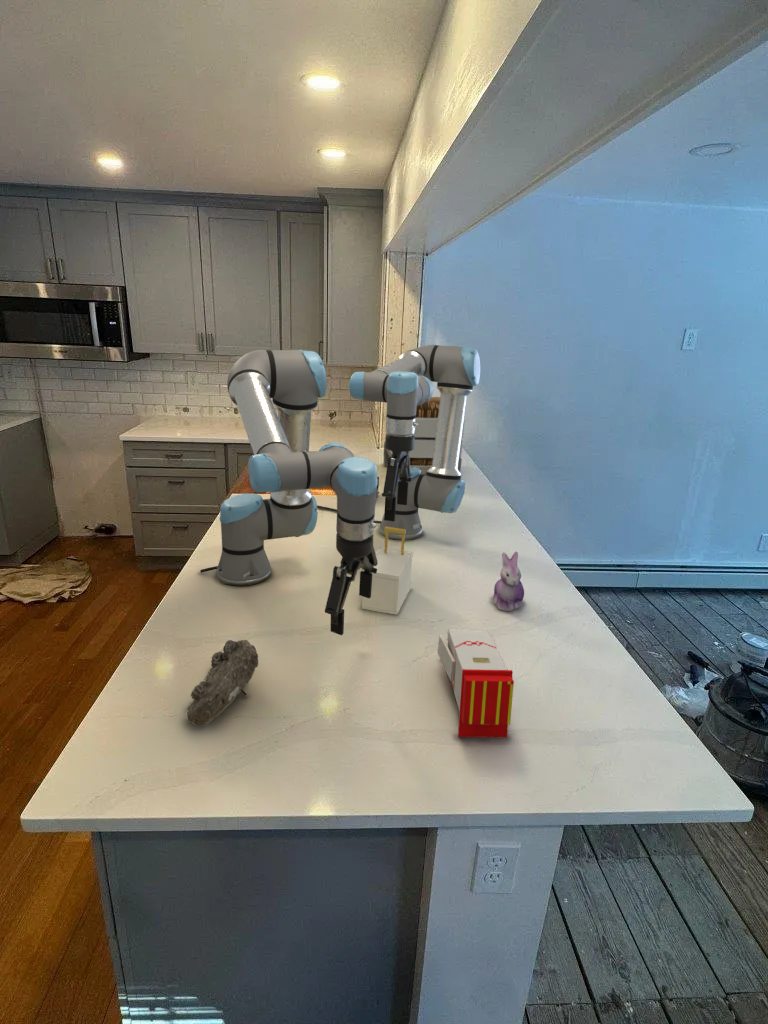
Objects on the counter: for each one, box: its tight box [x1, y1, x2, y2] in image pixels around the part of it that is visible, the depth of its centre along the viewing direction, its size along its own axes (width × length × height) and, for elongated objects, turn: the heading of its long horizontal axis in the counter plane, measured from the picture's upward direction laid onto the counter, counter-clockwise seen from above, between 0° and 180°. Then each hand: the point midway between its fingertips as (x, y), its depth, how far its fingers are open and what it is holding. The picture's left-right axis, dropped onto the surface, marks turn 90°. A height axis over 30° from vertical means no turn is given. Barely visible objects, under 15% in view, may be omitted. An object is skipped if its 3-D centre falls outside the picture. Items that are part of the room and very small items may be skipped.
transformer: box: [383, 396, 465, 474], centre depth 268 cm, size 34×33×41 cm
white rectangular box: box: [362, 527, 414, 581], centre depth 150 cm, size 16×10×9 cm, turn 165°
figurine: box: [492, 551, 525, 612], centre depth 152 cm, size 9×10×15 cm
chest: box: [361, 558, 413, 616], centre depth 153 cm, size 15×10×10 cm, turn 165°
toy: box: [437, 628, 515, 738], centre depth 117 cm, size 12×13×30 cm
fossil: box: [186, 639, 259, 726], centre depth 113 cm, size 22×10×15 cm
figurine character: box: [376, 476, 380, 498], centre depth 236 cm, size 7×8×15 cm
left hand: (351, 613), depth 125 cm, fingers open, 13 cm apart
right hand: (396, 512), depth 152 cm, fingers open, 13 cm apart
